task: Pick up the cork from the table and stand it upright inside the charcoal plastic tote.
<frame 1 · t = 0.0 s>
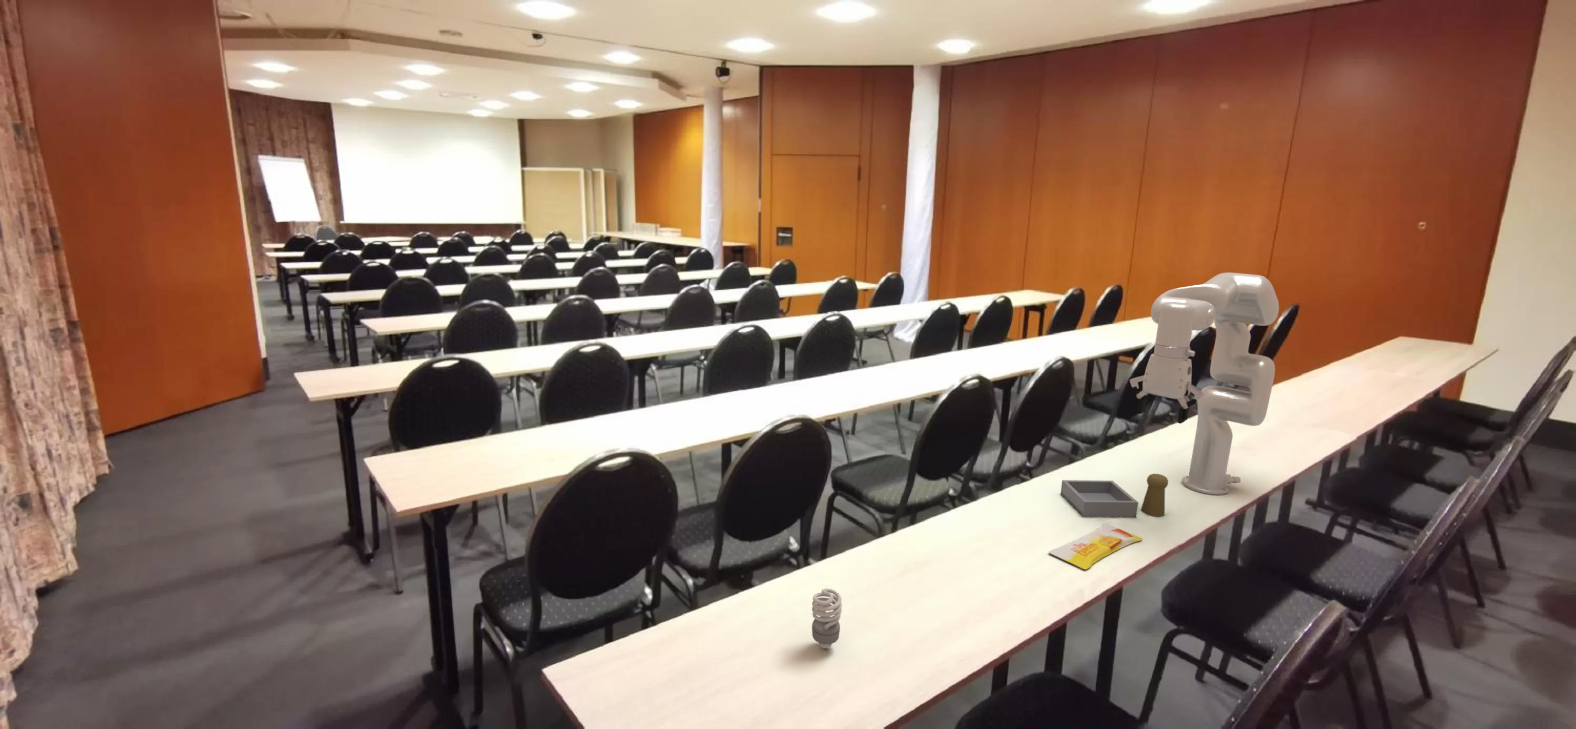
hand: (1160, 417, 182), 31 cm above the table, tool pointing down, fingers open, 9 cm apart
food package: (1095, 549, 179), on the table
light bulb: (825, 648, 137), on the table
cork: (1152, 512, 200), on the table
tote: (1097, 505, 203), on the table
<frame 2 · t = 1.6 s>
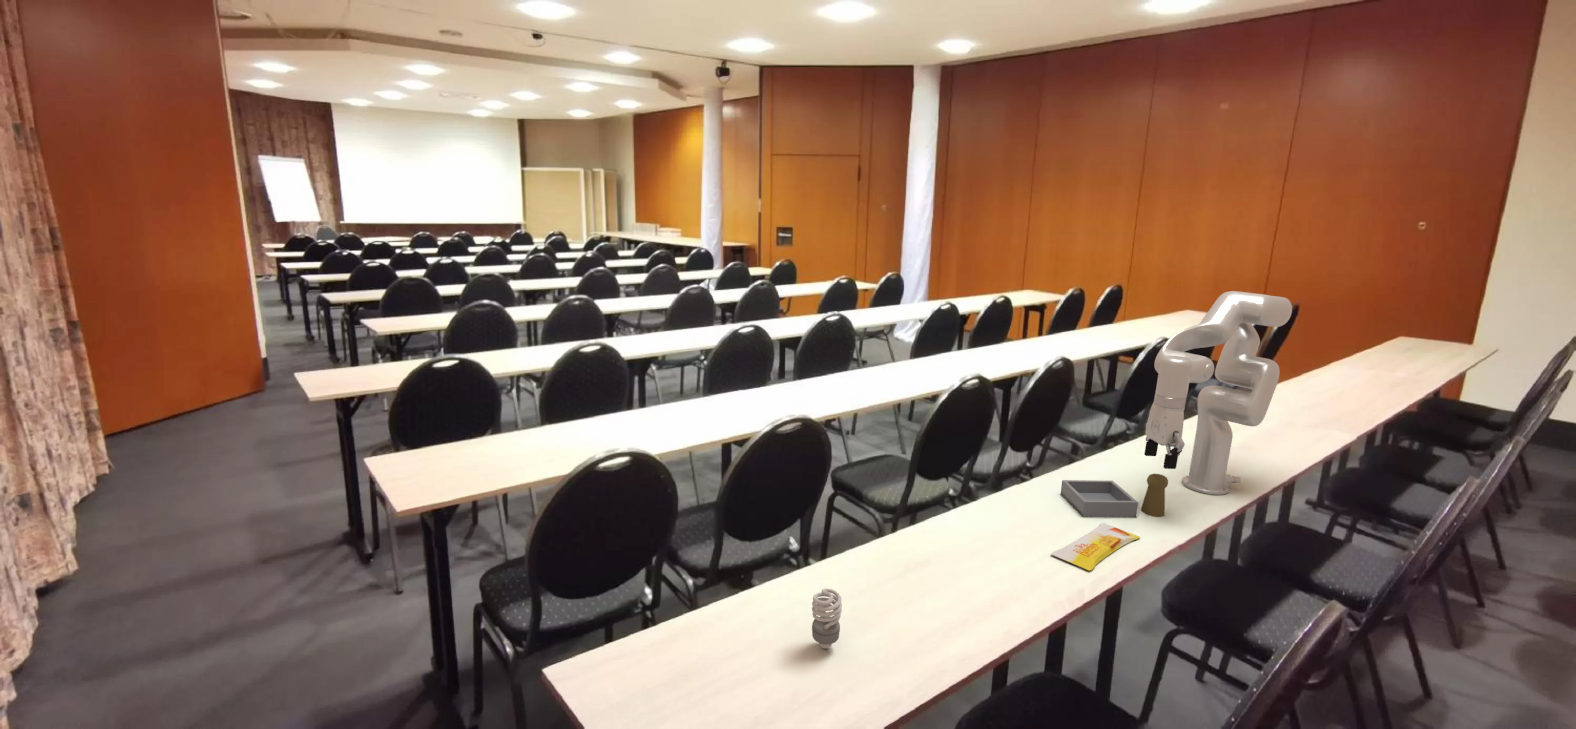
hand: (1159, 461, 196), 15 cm above the table, tool pointing down, fingers open, 9 cm apart
nothing on the table moved.
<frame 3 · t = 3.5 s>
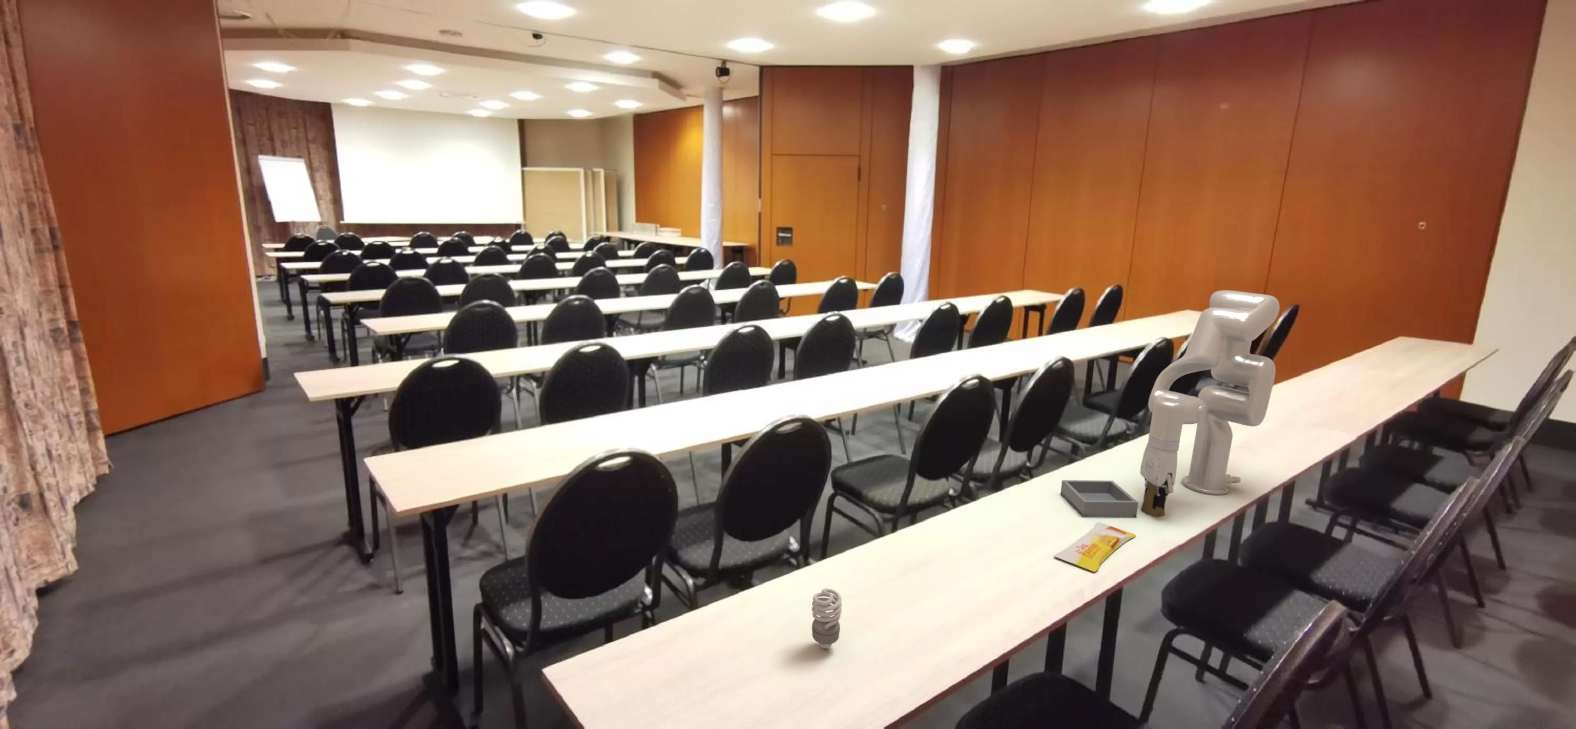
hand: (1153, 504, 199), 2 cm above the table, tool pointing down, fingers closed on cork, 3 cm apart
cork: (1152, 512, 200), on the table, touching gripper
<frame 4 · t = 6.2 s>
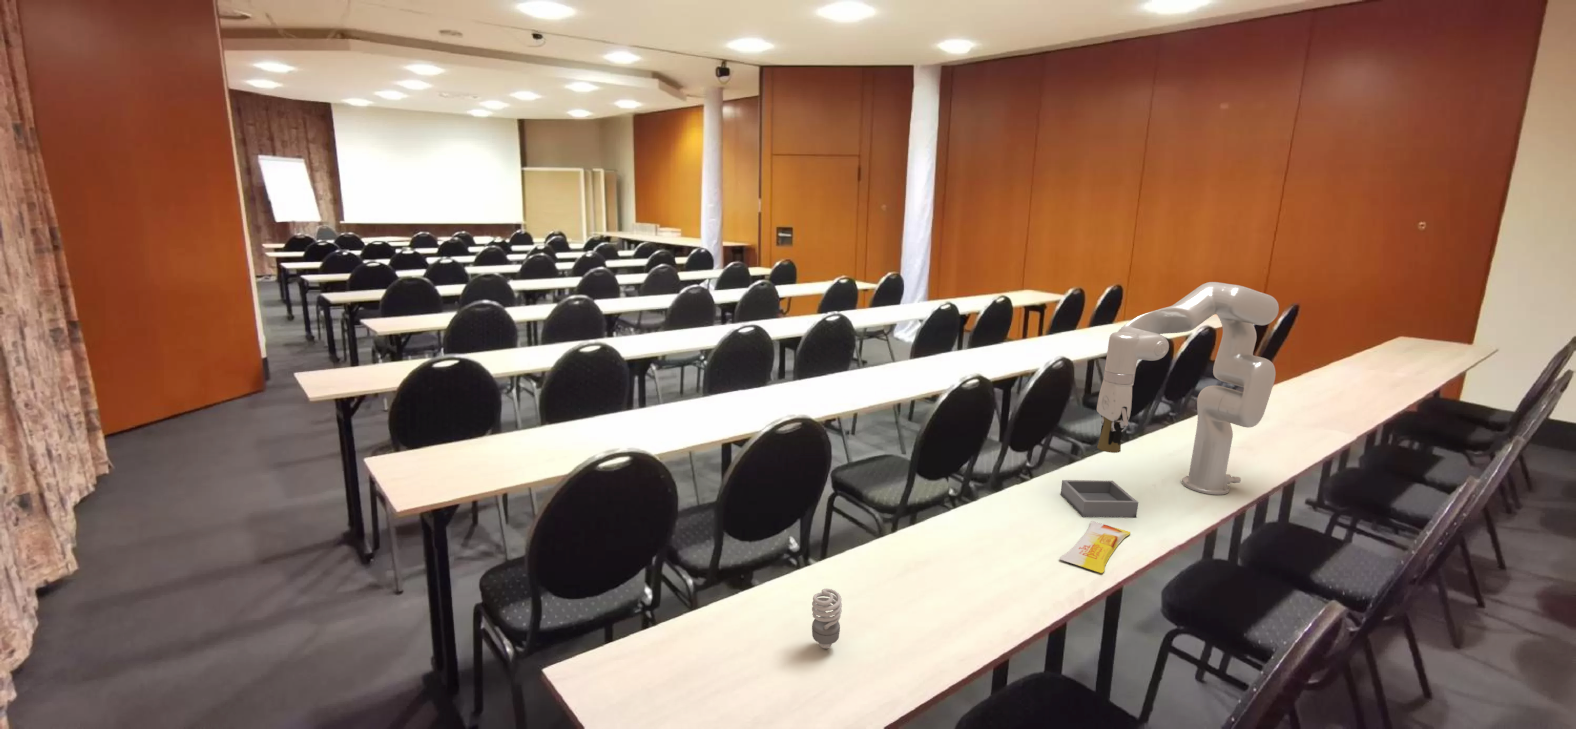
hand: (1109, 441, 198), 20 cm above the table, tool pointing down, fingers closed on cork, 3 cm apart
cork: (1108, 449, 199), point 17 cm above the table, touching gripper
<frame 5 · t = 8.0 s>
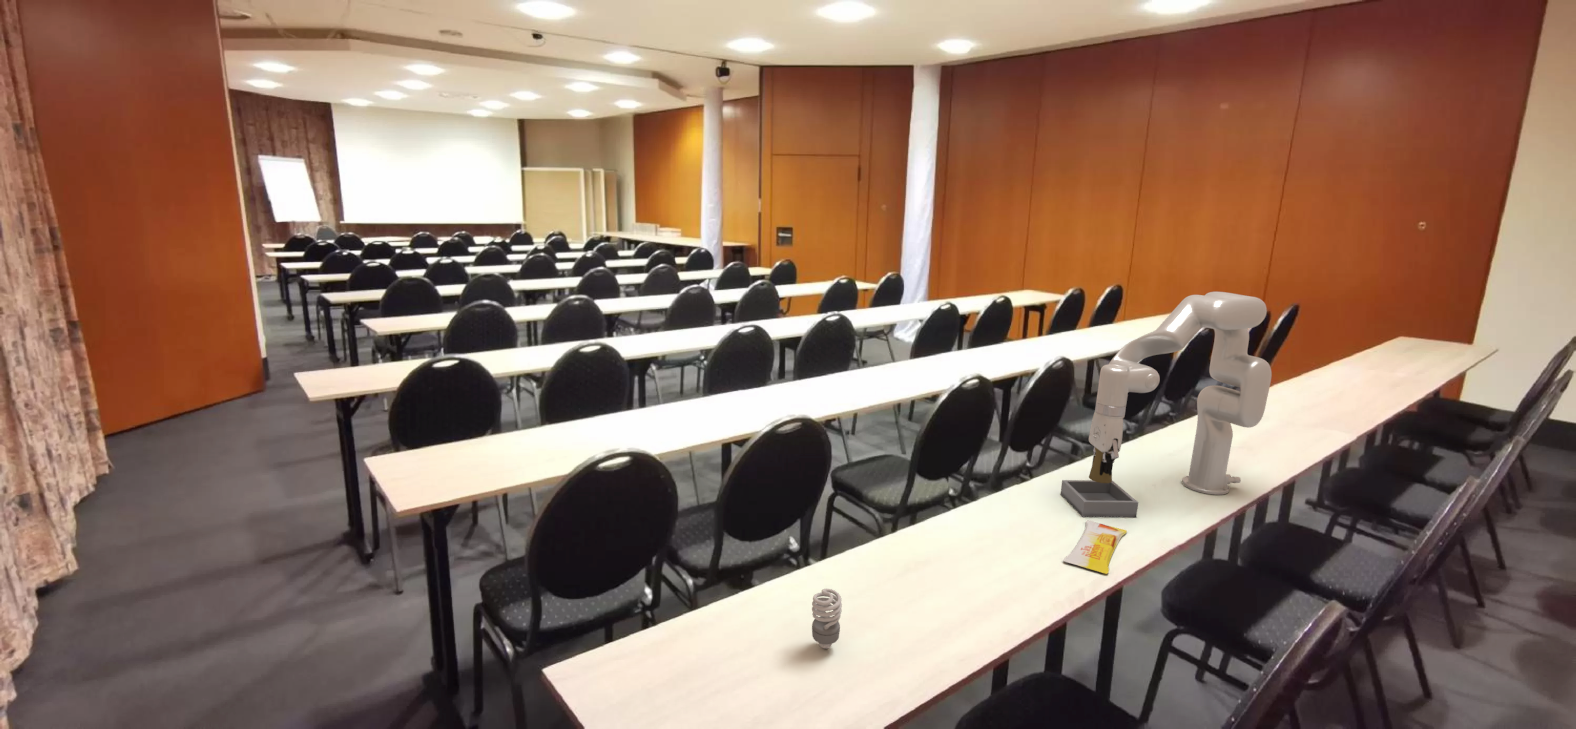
hand: (1101, 471, 201), 10 cm above the table, tool pointing down, fingers closed on cork, 3 cm apart
cork: (1100, 479, 201), point 8 cm above the table, touching gripper
when the fingers open (5 cm above the table, at t = 9.4 s): cork drops 1 cm, resting on tote.
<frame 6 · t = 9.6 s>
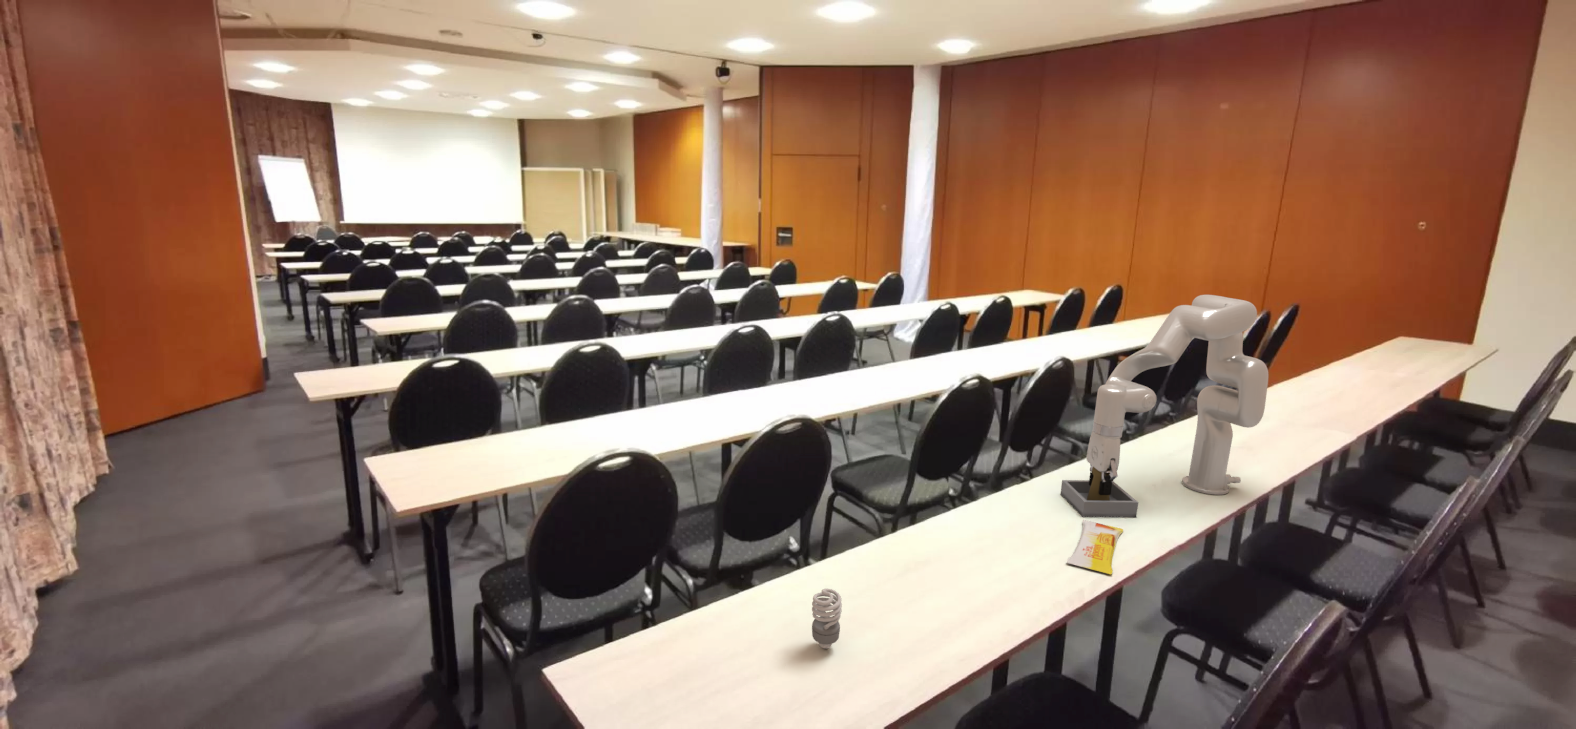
hand: (1099, 489, 202), 5 cm above the table, tool pointing down, fingers open, 5 cm apart
cork: (1098, 502, 203), point 1 cm above the table, touching tote
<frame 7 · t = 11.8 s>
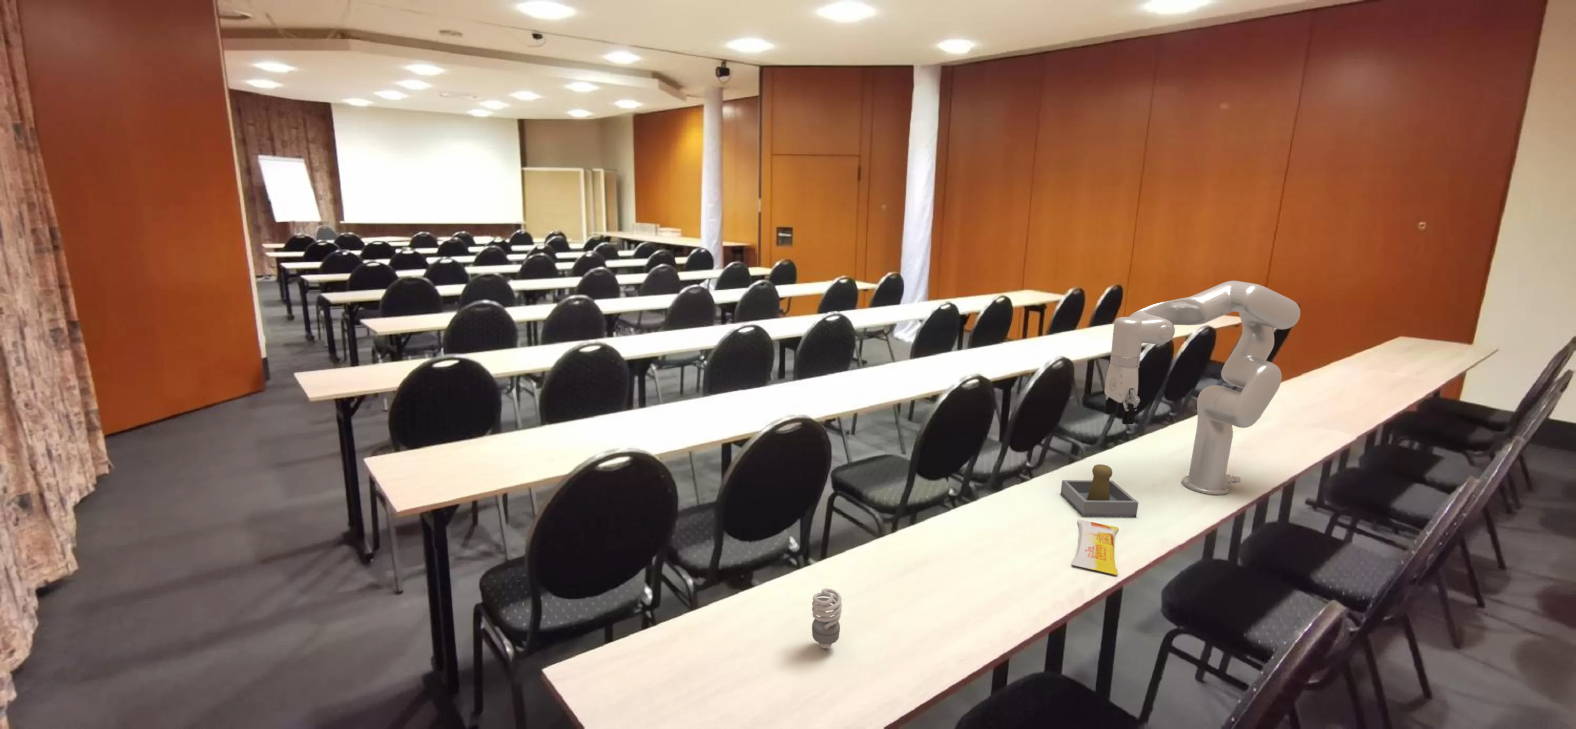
hand: (1118, 418, 207), 23 cm above the table, tool pointing down, fingers open, 9 cm apart
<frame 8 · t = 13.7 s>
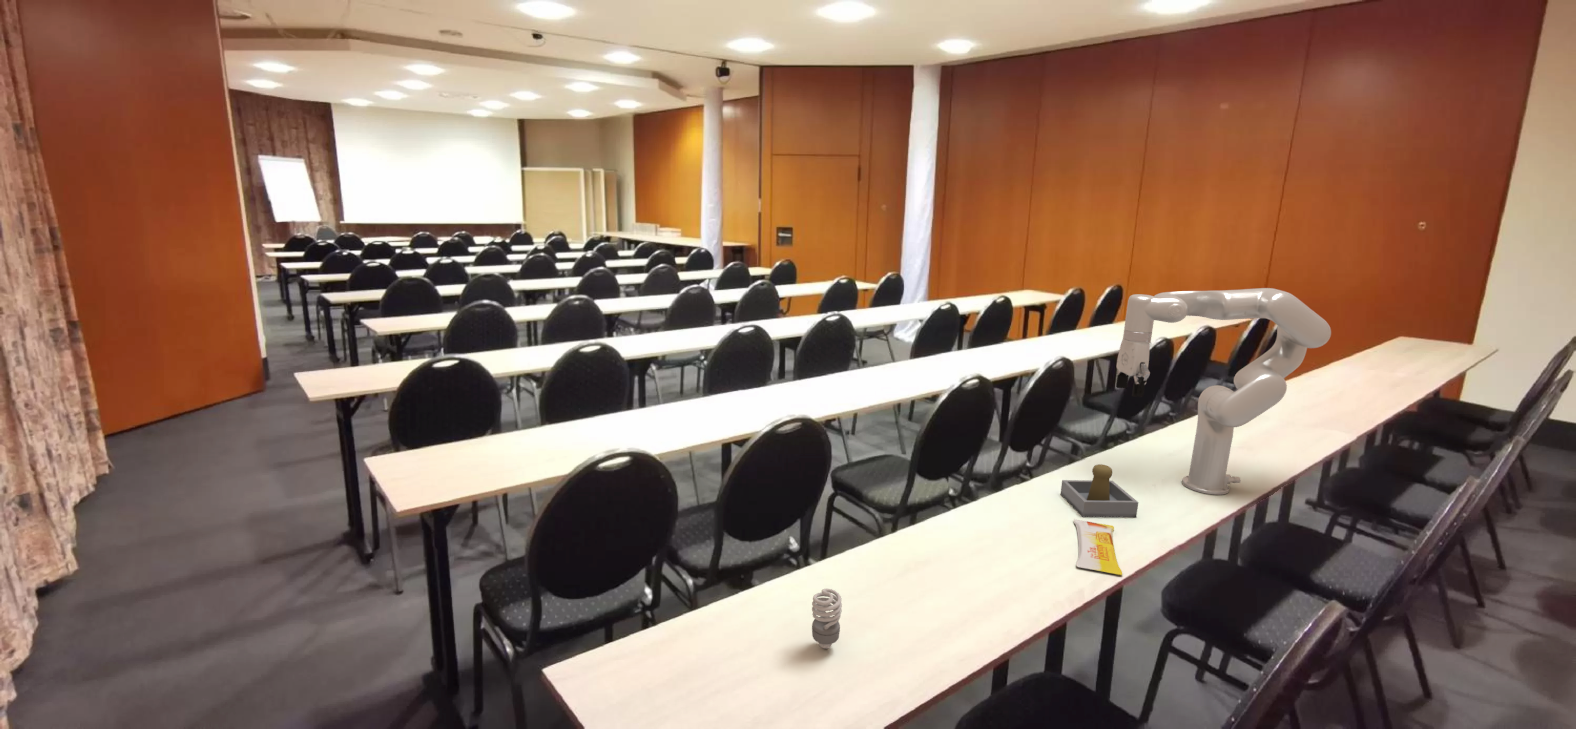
hand: (1129, 392, 216), 28 cm above the table, tool pointing down, fingers open, 9 cm apart
at the end: cork inside the target area on the tote (0.2 cm from its centre), point 0.8 cm above the tote's base; cork tilted 0°; the gripper is holding nothing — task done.
